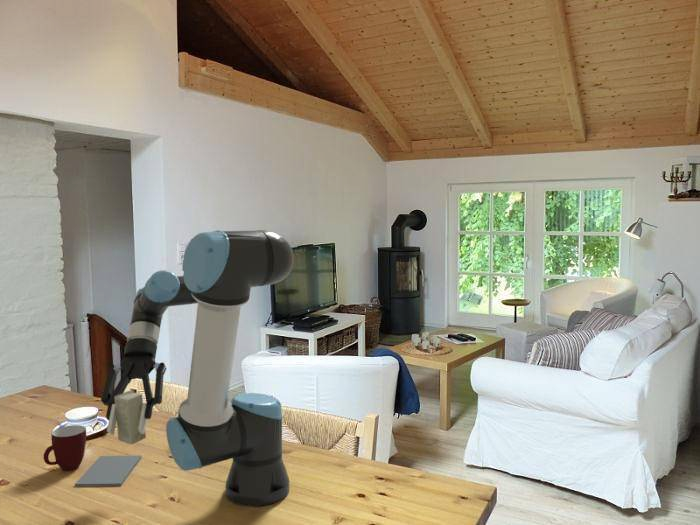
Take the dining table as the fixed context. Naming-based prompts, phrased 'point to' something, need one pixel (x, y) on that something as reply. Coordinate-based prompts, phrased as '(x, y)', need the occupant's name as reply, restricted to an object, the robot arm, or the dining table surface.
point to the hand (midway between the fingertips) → (125, 432)
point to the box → (129, 417)
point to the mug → (67, 447)
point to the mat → (109, 471)
